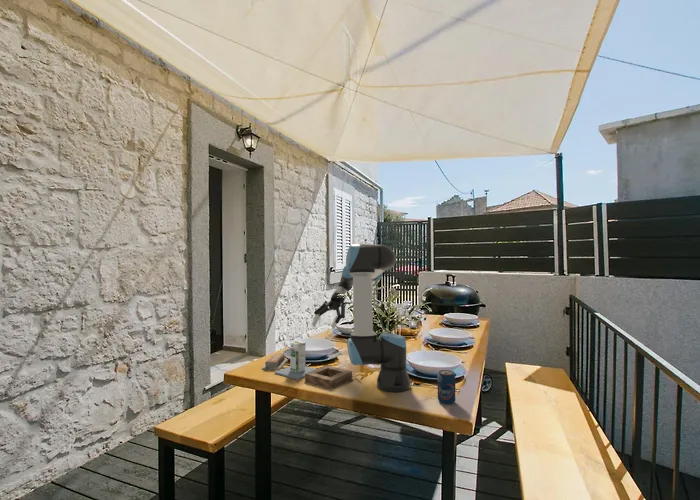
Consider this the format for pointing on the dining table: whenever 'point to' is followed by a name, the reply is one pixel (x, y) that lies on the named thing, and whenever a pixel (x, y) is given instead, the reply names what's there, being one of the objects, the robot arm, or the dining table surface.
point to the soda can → (446, 387)
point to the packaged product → (275, 362)
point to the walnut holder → (322, 379)
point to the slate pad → (294, 373)
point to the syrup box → (297, 356)
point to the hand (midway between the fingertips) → (322, 326)
